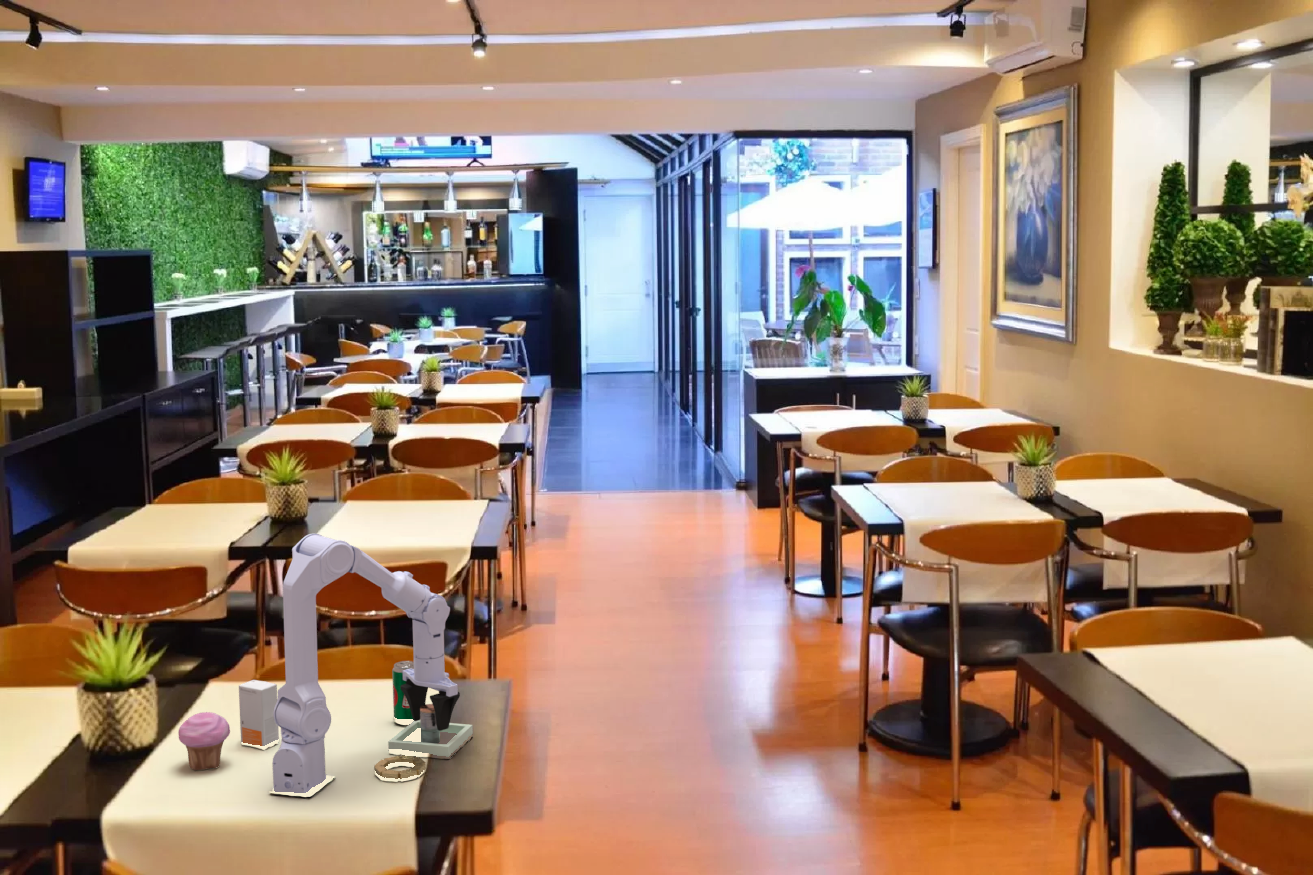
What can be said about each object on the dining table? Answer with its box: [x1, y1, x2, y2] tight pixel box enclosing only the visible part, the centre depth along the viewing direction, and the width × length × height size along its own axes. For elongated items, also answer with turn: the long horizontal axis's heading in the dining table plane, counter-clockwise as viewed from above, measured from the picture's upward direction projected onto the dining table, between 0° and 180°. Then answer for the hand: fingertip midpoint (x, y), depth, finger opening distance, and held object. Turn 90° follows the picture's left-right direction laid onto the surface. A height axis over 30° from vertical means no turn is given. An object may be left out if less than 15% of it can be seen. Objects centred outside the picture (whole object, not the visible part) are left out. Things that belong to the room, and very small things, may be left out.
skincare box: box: [238, 679, 280, 746], centre depth 253 cm, size 6×4×12 cm
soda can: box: [391, 660, 414, 719], centre depth 265 cm, size 5×5×12 cm
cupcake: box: [177, 711, 231, 771], centre depth 243 cm, size 9×9×10 cm
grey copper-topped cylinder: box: [420, 703, 440, 744], centre depth 253 cm, size 4×4×7 cm
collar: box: [373, 755, 427, 779], centre depth 240 cm, size 9×9×2 cm
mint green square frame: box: [387, 720, 474, 757], centre depth 253 cm, size 12×12×2 cm
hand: (430, 724), depth 253 cm, fingers open, 7 cm apart
